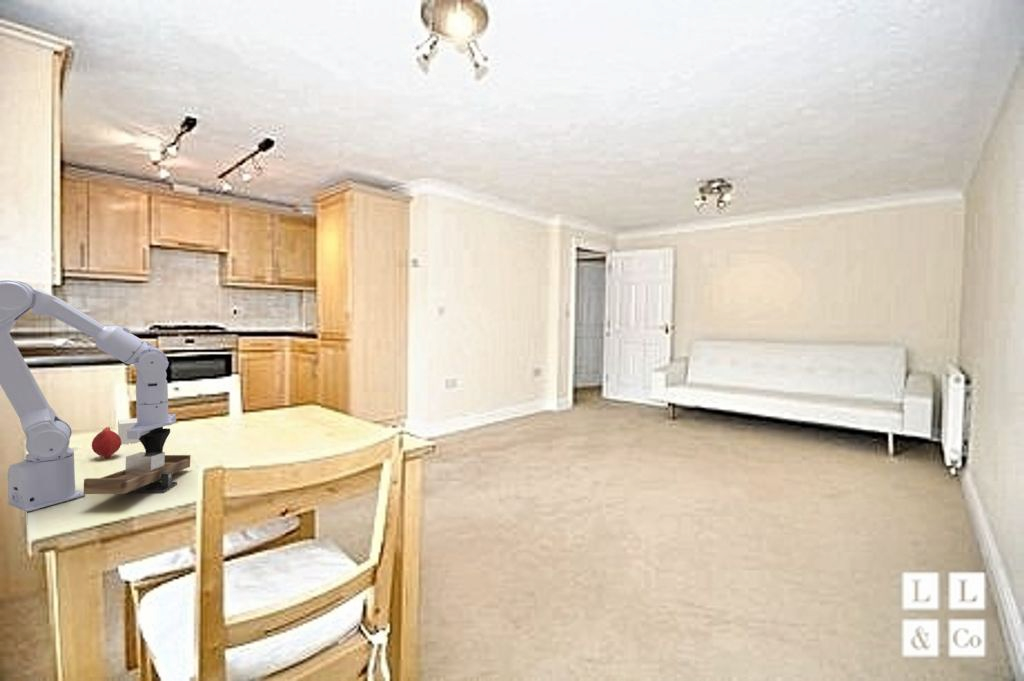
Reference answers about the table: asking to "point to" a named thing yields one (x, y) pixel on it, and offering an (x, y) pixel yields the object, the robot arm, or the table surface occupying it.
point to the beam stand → (157, 485)
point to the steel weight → (144, 463)
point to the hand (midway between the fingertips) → (154, 462)
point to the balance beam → (133, 477)
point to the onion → (106, 443)
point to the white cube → (122, 430)
